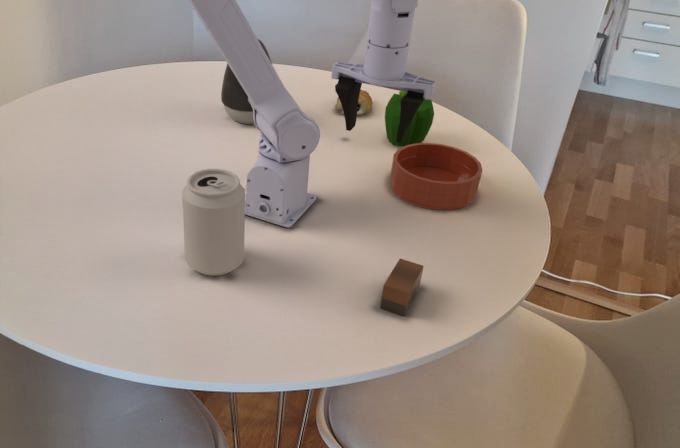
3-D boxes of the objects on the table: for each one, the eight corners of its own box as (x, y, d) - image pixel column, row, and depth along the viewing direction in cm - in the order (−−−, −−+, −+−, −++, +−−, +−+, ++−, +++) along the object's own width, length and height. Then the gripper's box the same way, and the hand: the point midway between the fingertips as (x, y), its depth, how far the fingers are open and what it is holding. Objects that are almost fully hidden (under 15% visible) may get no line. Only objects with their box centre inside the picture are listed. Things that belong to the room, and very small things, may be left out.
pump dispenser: (209, 116, 120) (207, 35, 111) (251, 103, 126) (253, 25, 117) (245, 135, 113) (246, 50, 105) (287, 120, 119) (291, 39, 111)
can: (213, 238, 87) (212, 158, 80) (256, 260, 83) (258, 178, 76) (172, 262, 82) (167, 180, 75) (215, 287, 78) (214, 203, 71)
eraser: (404, 316, 75) (408, 293, 73) (379, 308, 76) (383, 284, 74) (419, 288, 79) (423, 265, 77) (395, 280, 80) (399, 258, 78)
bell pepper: (416, 130, 118) (425, 78, 112) (435, 150, 111) (445, 95, 106) (373, 133, 116) (380, 79, 111) (389, 153, 110) (397, 98, 104)
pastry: (342, 96, 130) (344, 78, 128) (375, 101, 129) (377, 83, 127) (333, 114, 123) (335, 95, 121) (369, 119, 121) (371, 100, 119)
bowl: (464, 219, 93) (470, 192, 90) (377, 195, 98) (381, 168, 95) (484, 180, 103) (490, 155, 100) (404, 160, 108) (408, 136, 105)
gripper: (448, 43, 87) (431, 134, 94) (348, 25, 92) (339, 113, 100) (435, 57, 82) (417, 153, 89) (329, 38, 87) (321, 130, 94)
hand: (375, 133), depth 94 cm, fingers open, 7 cm apart
